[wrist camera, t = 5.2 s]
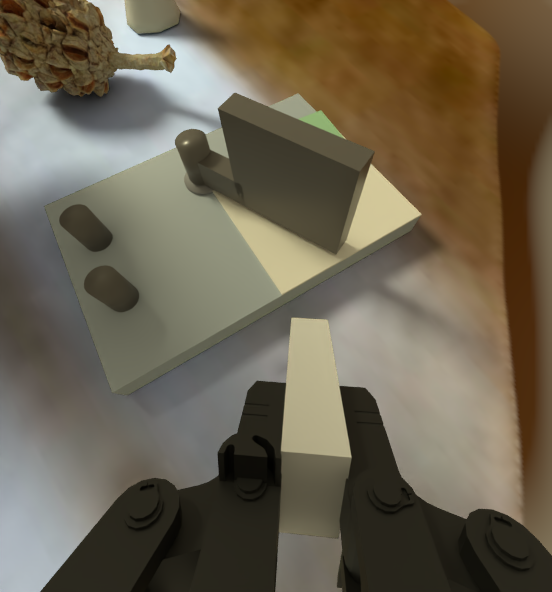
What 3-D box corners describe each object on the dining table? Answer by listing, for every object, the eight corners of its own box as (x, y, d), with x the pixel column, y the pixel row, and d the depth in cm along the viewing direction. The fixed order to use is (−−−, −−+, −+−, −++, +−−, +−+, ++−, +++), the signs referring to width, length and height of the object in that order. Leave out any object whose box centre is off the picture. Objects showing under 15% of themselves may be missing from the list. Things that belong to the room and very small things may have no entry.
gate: (182, 178, 26) (140, 79, 18) (200, 160, 26) (167, 59, 19) (333, 258, 22) (356, 177, 15) (349, 235, 23) (378, 146, 16)
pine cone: (5, 108, 34) (-98, -6, 25) (48, 57, 38) (-29, -59, 29) (185, 134, 32) (144, 16, 22) (213, 76, 35) (187, -45, 26)
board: (127, 395, 21) (83, 388, 17) (60, 220, 28) (14, 180, 23) (413, 229, 26) (439, 187, 21) (299, 111, 32) (301, 59, 28)
